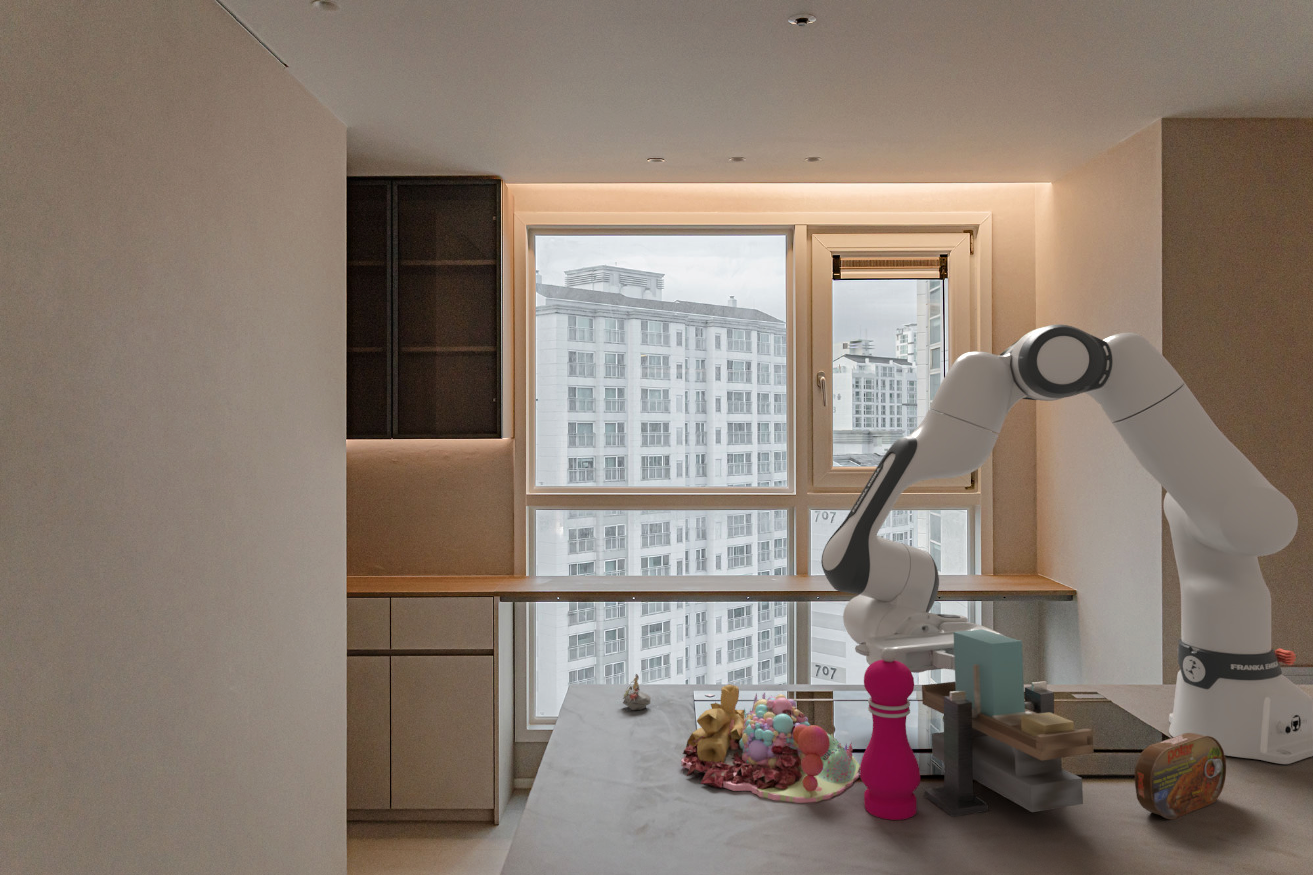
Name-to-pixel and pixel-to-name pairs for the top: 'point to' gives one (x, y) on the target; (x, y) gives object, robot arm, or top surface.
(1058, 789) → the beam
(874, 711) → the pepper mill
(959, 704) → the fulcrum
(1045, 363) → the robot arm
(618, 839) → the top surface
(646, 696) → the figurine
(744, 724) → the candy landscape model
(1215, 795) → the tin
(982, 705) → the teal rectangular block
